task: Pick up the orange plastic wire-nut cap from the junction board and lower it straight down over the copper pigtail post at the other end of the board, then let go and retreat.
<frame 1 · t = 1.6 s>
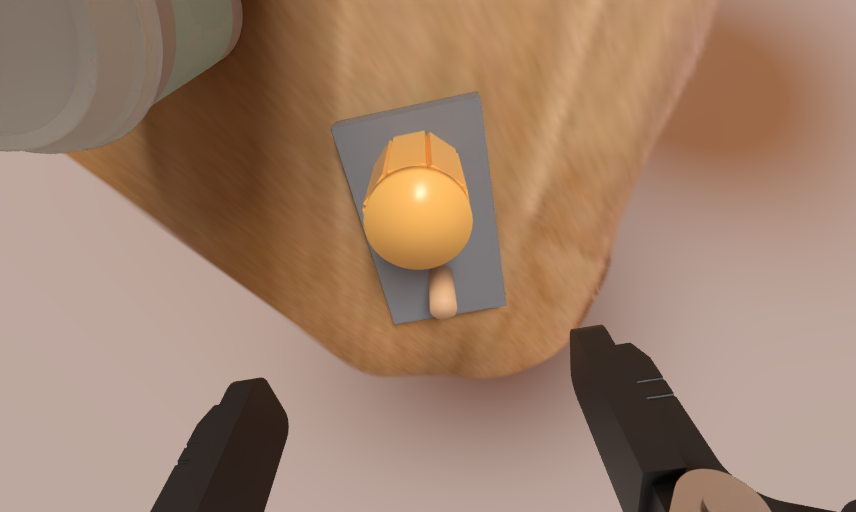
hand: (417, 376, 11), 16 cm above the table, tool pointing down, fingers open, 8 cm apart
coffee cup: (183, 0, 20), on the table
wire nut: (418, 175, 23), point 1 cm above the table, touching junction board
junction board: (429, 218, 26), on the table
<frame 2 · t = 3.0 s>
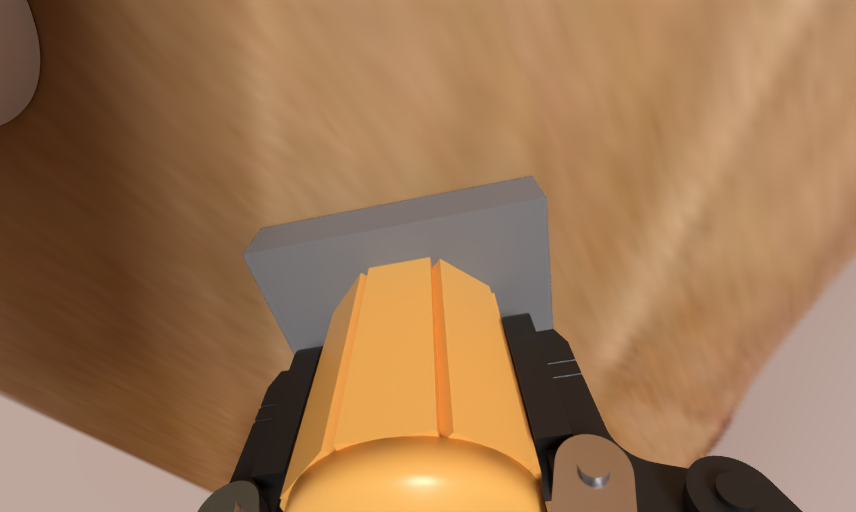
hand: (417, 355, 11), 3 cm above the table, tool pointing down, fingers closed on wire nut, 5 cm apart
wire nut: (417, 328, 12), point 1 cm above the table, touching gripper, junction board
junction board: (437, 370, 15), on the table
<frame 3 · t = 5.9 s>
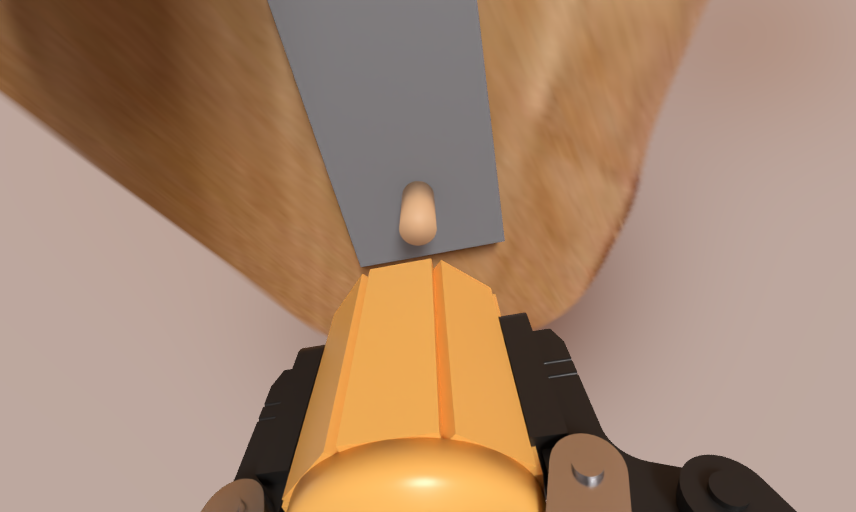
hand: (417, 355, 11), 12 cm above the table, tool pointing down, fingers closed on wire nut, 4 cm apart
wire nut: (418, 329, 12), point 11 cm above the table, touching gripper
junction board: (402, 118, 20), on the table
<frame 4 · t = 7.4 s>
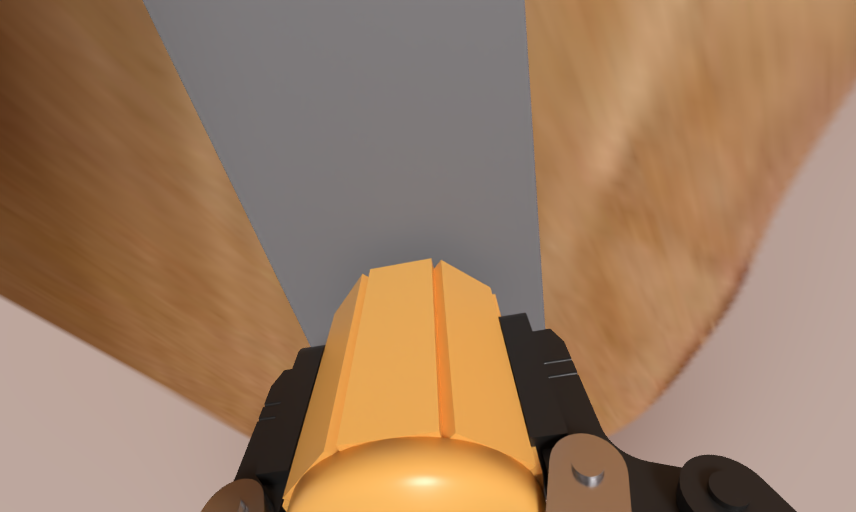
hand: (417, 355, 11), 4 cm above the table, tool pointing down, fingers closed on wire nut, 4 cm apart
wire nut: (419, 329, 12), point 3 cm above the table, touching gripper
junction board: (394, 186, 12), on the table
when the fingers open (4 cm above the table, at t = 8.4 s): wire nut stays where it is, resting on junction board.
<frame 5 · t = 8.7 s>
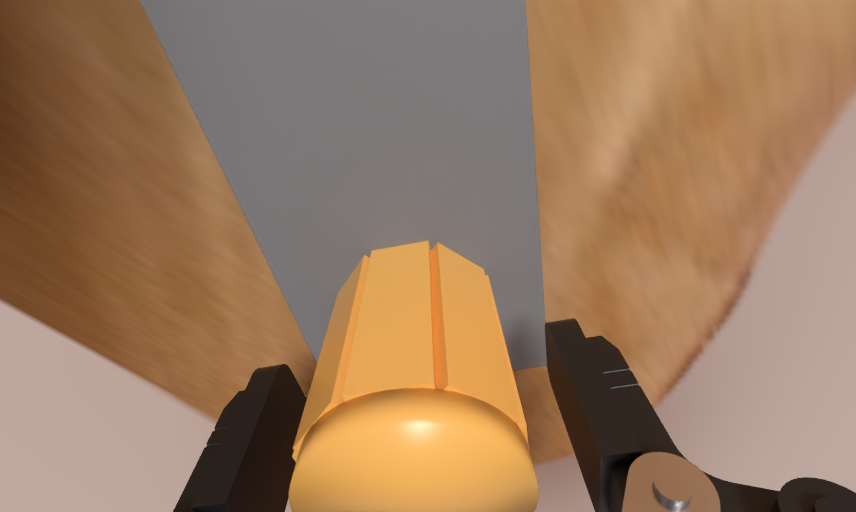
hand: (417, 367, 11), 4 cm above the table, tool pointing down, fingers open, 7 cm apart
wire nut: (416, 309, 13), point 1 cm above the table, touching junction board
junction board: (394, 190, 12), on the table
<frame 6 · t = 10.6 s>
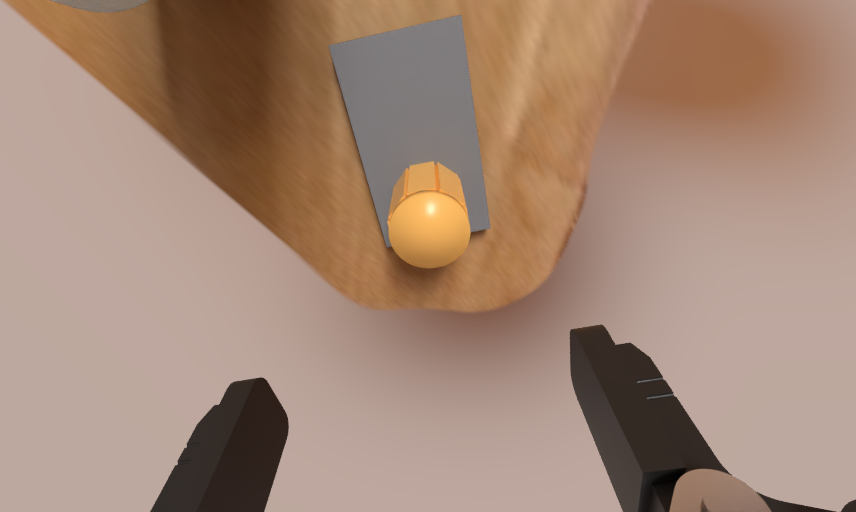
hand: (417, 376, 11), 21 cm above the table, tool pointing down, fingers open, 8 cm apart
wire nut: (428, 195, 29), point 1 cm above the table, touching junction board
junction board: (418, 141, 28), on the table
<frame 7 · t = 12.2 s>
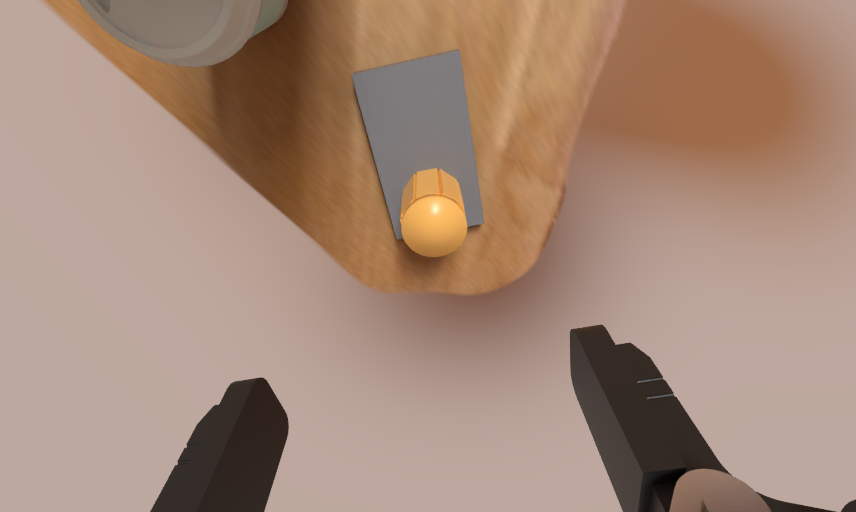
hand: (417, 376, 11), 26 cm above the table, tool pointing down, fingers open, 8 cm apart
wire nut: (432, 196, 34), point 1 cm above the table, touching junction board
junction board: (424, 151, 34), on the table
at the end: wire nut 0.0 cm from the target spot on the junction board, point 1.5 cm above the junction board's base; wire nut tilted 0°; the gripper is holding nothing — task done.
